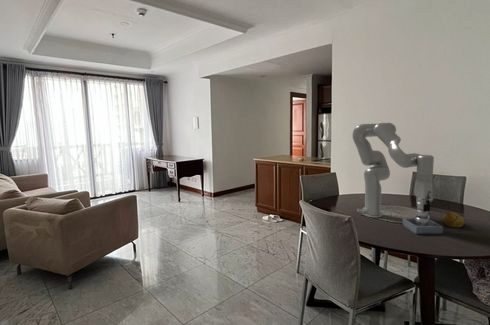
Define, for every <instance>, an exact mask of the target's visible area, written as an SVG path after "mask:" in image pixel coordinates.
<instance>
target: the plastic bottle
mask: <svg viewBox="0 0 490 325" xmlns="http://www.w3.org/2000/svg"><path fill="white" fill-rule="evenodd" d="M416 201H417V208H416V214H415V215H416V216H415V223H416V224H417V225H419V226H427V225H428V223H429V211H423V207H424V204H425V203H424V199H421V198H419V197H417V199H416V198H415V202H416ZM427 201H428V200H426V202H427Z"/></svg>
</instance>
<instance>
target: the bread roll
mask: <svg viewBox="0 0 490 325" xmlns="http://www.w3.org/2000/svg"><path fill="white" fill-rule="evenodd" d="M442 221H443V223H444V225H446V226H448V227H451V228H461V227H464V226H465V219H464V218H463V216H462V215H459V213H456V212H453V211H451V212H446V213H445V214H444V215H443V216H442Z"/></svg>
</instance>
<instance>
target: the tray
mask: <svg viewBox="0 0 490 325" xmlns="http://www.w3.org/2000/svg"><path fill="white" fill-rule="evenodd" d="M415 218H416V217H415ZM415 218H414V217H413V218H412V217H411V218H402V224H401V225H402V226H403V227H404V228H406V229H408V230H409V231H410V232H412V233H413V234H415V235H443V233H444V226H443V225H440V224H439V223H437V222H435V221H433V220H431V219H429V218H428V219H429V223H428V225H427V226H419V225H417V224H416V223H415Z"/></svg>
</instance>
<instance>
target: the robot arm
mask: <svg viewBox="0 0 490 325" xmlns="http://www.w3.org/2000/svg"><path fill="white" fill-rule="evenodd" d="M396 132H397V128H396V125H395V124H394V123H391V122H380V123H361V124H359V125H356V127H355V128H353V130H352V140H353V142H354V145H355V146H356V149H357V153H358V156H359V158H360V160H361V163H362V164H363V165H364V166H367V167H368V166H369V167H368V168H367V169H365V171H364V173H363V176H364V177H363V178H364V189H365V194H364V206H363V207H362V208H357V209H356V211H357V212H358V213H361V214H362V215H363V216H364V217H368V218H381V217H383V216H384V213H383V212H381V211H382V209H381V208H382V186H381V183H380V182H382V181H387V179H389V178H390V175H391V170H390V167H389V165H388V161H387V160H386V157H385V154H383V152H381V151H380V150H373V148H372V145H371V143H370V141H369V140H368V139H367V138H372V137H377V138H378V139H379V140H380V141H381V142H382V143H383V144H384V145H385V146H386V147H387V149H388V150H387V151H388V154H389V156H390V158H391V159H392V160H393V161H394V162H395V163H396V165H398V166H399V167H401V168H405V169H407V168H413V167H416V175H415V176H416V179H415V182H414V188H413V195H414V196H415V207H416V209H417V201H416V199H417V197H419V198H421V199H424V203H425V204H424V207H423V211H428V212H430V211H431V205H432V203H433V201H434V198H433V195H434V188H433V180H434V179H433V178H434V160H435V159H434V156H433V155H431V154H419V153H416V152H415V153H405V152H404V151H403V150H402V148H401V147H400V145H399V144H400V143H401V140H402V139H401V137H400V136H399V135H398V134H397V133H396ZM370 166H371V167H370ZM426 200H428V201H427V202H426Z"/></svg>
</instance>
